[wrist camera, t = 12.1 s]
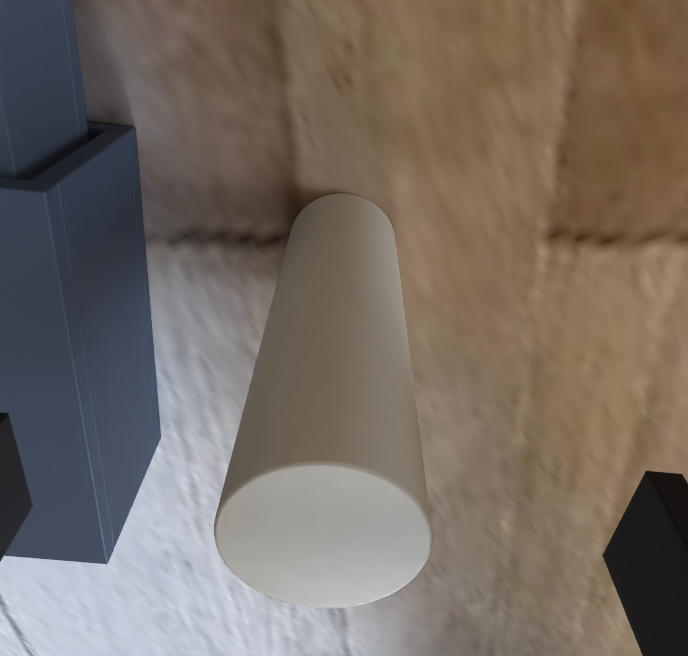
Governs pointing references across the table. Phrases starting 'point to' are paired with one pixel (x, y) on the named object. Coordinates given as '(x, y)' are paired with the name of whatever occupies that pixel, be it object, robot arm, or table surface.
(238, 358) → the table surface
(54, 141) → the drawer
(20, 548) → the cabinet
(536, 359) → the table surface
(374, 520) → the candle
